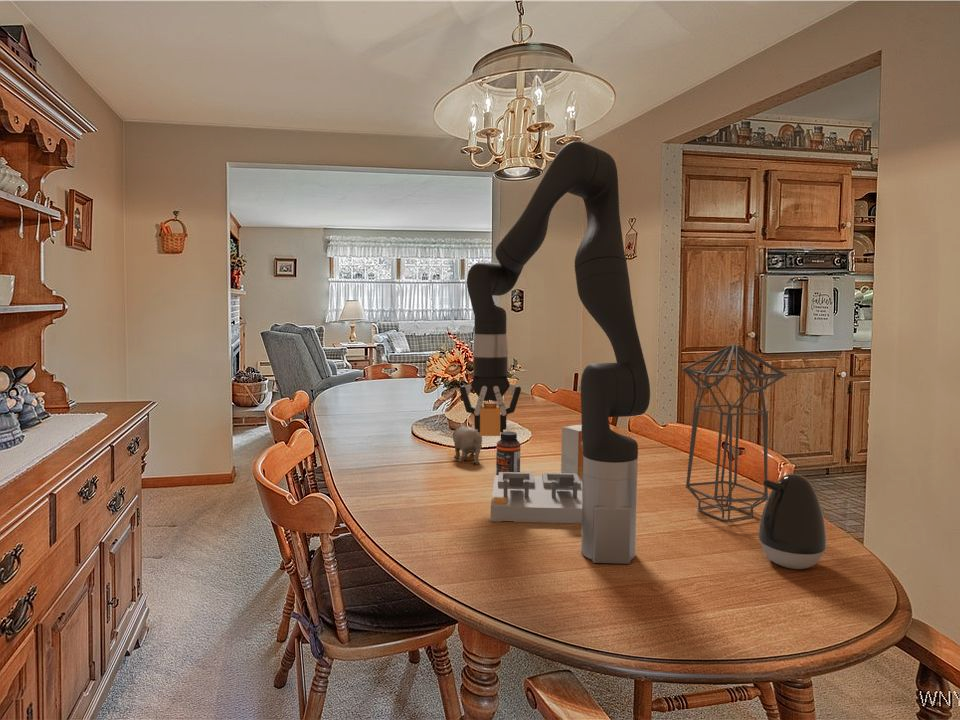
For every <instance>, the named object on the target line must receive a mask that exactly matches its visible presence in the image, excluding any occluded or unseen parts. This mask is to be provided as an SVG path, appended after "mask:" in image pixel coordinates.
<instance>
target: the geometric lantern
mask: <svg viewBox="0 0 960 720" xmlns="http://www.w3.org/2000/svg"><path fill="white" fill-rule="evenodd" d="M733 355H734V362H735V368H732V361H733ZM712 358H714V359H712ZM727 358H728V361H727V364H726V368H725V367H724V365H725V362H726V360H727ZM710 359H712V361H711V362H709V363H708V364H707V365H706V366H705V367H704V368H703V369H701V370H700V369H697V368H696V369H695V368H693V367H695V366H697V365H698V364H701V363H703V362H705V361H708V360H710ZM752 359H753V360H754V361H756V362H758V363H760V364H762V365H763V366H765V367H767V368H768V369H769V370H772V371H774V372H769V373H768V372H764V371H763V370H762V369H761V367H759V366H758V364H756V363H755V362H754V361H753V360H752ZM742 360H743V361H744V363H745V364H746V365H747V367H748V368H749V369H750V371H749V370H746V368H745V365H744V363H743V361H742ZM719 364H720V365H719ZM718 365H719V366H718ZM717 366H718V368H717ZM723 367H724V368H723ZM740 367H741V368H740ZM716 368H717V370H715V369H716ZM681 371H683V372H684V373H685V374H686V376H688V377H689V379H690V380H691V381H692V383H694V384H695V385H696V387H697V391H696V396H695V400H694V404H693V413H692V415H693V416H692V422H691V423H692V425H691V434H690V443H689V444H690V445H689V453H688V463H687V464H688V466H687V472H686V474H687V475H686V482H685V483H686V485H685V488H686V489H687V490H688V491H689V492H690V493H691V494H692V495H693V496H694V497H695V499H696V500H697V501H698V503H697V504H698V505H697V507H698V508H697V511H698V512H700V513H703V514H705V515H708V516H709V517H713V518H715V519H717V520H719V521H721V522H731V521H736V520H744V519H748V518H753V517H754V509H755V508H756V507H757V506H759V505H761V504H763V503H764V502H765V503H766V502H767V499H768V497H769V492H768V489H769V487H767V486H765V485H764V484H763V485H764V486H763V491H760V490H759V489H758V490H757V489H755V488H752V487H748V486H745V485H742V484H740V483H738V480H737V479H738V456H739V453H738V452H739V434H740V432H739V430H740V429H739V427H740V426H739V425H740V416H755V415H757V416H759V415H761V416H762V436H763V437H762V439H763V441H762V442H763V472H764V475H763V478H764V480H765V479H767V480H768V455H769V453H768V451H769V449H768V445H769V443H768V442H769V440H768V439H769V436H768V435H769V423H768V422H769V413H770V411H768V410H767V407H766V406H767V405H766V401H765V394H764V390H766V389H767V388H768V387H770V386H772V385H773V384H775V383H776V382H778V381H779V380H781V379H783V378H784V377H788V374H787V373H785V372H784V371H781V370H780V369H779V368H776V367H775V366H773V365H772V364H771V363H768V362H767V361H765V360H763V358H761V357H759V356H757V355H756V354H754V353H752V352H750V351H749V350H747V349H745V348H744V347H742V346H740V345H736V344H730V345H728V346H726V347H724V348H722V349H719V350H718V351H716V352H714V353H712V354H710V355H707V356H705V357H704V358H701V359H700V360H698V361H695V362H693V363H691V364H688V365H687V366H684V367H683V368H682V369H681ZM731 371H735V373H734V374H732V375H731V374H730V372H731ZM722 372H724V373H722ZM738 372H739V373H738ZM760 373H761V374H760ZM701 375H704V379H702V378H701V377H700V376H701ZM749 375H751V376H749ZM726 377H729V378H735V380H736V381H737V382H738V383H739V384H740V385H741V387H742V388H743V390H745V391H743V393H742V394H741V395H740V397H739V398H738V399H737V400H736V401H735V403H733V404H731V403H729V401H728V399H727V398H726V396H725V395H724V393H723V392H722V391H721V389H720V387H719V384H721V382H722V381H724V379H725V378H726ZM739 377H740V378H744V380H746V382H747V383H748V387H747V386H746V385H745V383H744V382H743V381H742V380H741V379H740V378H739ZM708 378H715V381H713V382H708V381H709V380H708ZM771 379H772V380H771ZM752 380H755V383H753V382H752ZM759 380H760V384H761V385H760V386H759V385H758V383H759ZM768 380H770V381H769V382H768ZM764 381H765V382H764ZM700 382H701V383H702V384H703V386H702V385H701V383H700ZM713 386H714V387H716V388H717V390H718V391H719V393H720V394H721V396H722V397H723V399H724V400H725V402H726V403H727V404H720V403H719V401H718V399H717V397H716V395H715V394H714V391H713V390H712V388H713ZM700 390H701V392H700ZM706 390H708V391H709V392H710V394H711V397H712V398H713V400H714V402H715V404H712V405H711V404H709V405H707V404H705V405H704V404H703V405H701V403H702V401H703V400H702V399H703V396H704V393H705V391H706ZM699 393H700V396H699ZM754 393H759V395H760V401H761V406H762V407H761V408H762V409H758V408H752V407H749V406H748V407H747V406H742V405H743V403H744V402H745V401H746V399H747V398H748V396H749V395H750V394H754ZM698 397H699V399H698ZM740 400H741V401H740ZM697 401H698V402H697ZM739 401H740V402H739ZM696 404H697V405H696ZM737 404H738V405H737ZM716 407H717V408H718V409H719V411H717V410H712V409H708V408H716ZM723 407H728V409H727V412H725V411H724V410H723V409H722V408H723ZM734 408H735V409H736V412H735V413H734V412H733V413H732V412H731V411H733V409H734ZM740 409H745V410H749V411H750V410H751V411H756V412H741V413H740ZM700 410H701V411H706V412H709V413H715V414H719V415H720V417H719V425H718V426H719V429H718V441H717V455H716V456H717V457H716V466H715V467H716V468H715V480H713V481H704V482H702V481H701V482H693V483H691V482H690V481H691V474H692V467H693V460H694V453H695V445H696V438H697V429H698V423H699V414H700ZM723 416H726V417H727V418H726V428H725V438H724V446H723V448H724V449H723V456H722V457H723V459H722V468H721V474H720V465H721V464H720V462H721V450H722V447H721V446H722V436H723V435H722V434H723V433H722V432H723V422H724V421H723V420H724V417H723ZM733 416H736V418H735V419H736V421H735V447H734V451H735V452H734V470H732V469H733ZM727 451H728V480H725V479H724V478H725V471H726V460H727ZM733 471H734V473H733ZM733 474H734V476H733ZM719 475H721V476H720V480H719ZM732 477H734V478H733V479H732ZM764 480H763V481H764ZM732 481H733V482H732ZM719 484H720V485H721V495H718V490H719ZM724 484H726V485H728V494H727V495H725V491H724ZM704 485H705V486H706V485H714V496H711V495H709V494H707V493H704V492H702V491H700V490H698V489H696V488H693V486H694V487H695V486H704ZM735 487H739V488H742V489H744V490H747V491H751V492H753V493H756V494H759V495H762V496H760V497H759V496H758V497H745V498H743V497H742V498H734V497H732V492H733V490H734V488H735ZM697 494H699V495H700V496H703V497H702V498H700V497H699V495H697ZM706 500H707V501H706ZM708 500H712V501H714V502H716V503H717V504H713V503H710V502H708ZM750 501H753V503H749V502H750ZM724 502H725V503H724ZM736 502H737V503H738V502H739V503H740V504H745V505H747V506H741V507H736V506H734V505H732V503H736ZM701 503H703V504H706V506H701ZM723 506H726V507H727V508H724V507H723ZM710 508H716V509H718V510H720V511H721V517H719V516H717V515H714V514H711V513H709V512H707V511H705V510H702V509H710ZM747 509H750V510H749V511H750V512H749V511H747ZM731 511H740V512H743V513H745V514H748V515H744V516H739V517H733V518H731ZM725 512H727V518H725Z"/></svg>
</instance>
